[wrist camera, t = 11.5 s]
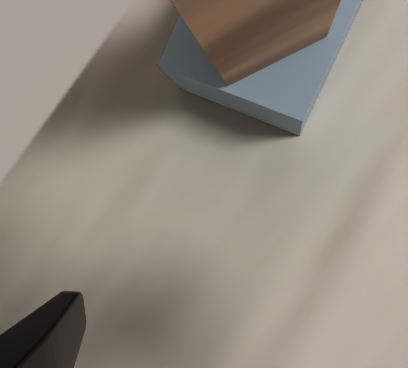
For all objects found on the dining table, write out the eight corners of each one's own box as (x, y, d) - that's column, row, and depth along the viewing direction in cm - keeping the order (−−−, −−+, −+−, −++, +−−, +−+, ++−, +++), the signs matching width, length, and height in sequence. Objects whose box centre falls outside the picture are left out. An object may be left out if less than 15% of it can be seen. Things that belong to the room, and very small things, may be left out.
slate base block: (359, 8, 19) (378, -43, 15) (299, 137, 19) (302, 121, 15) (233, -28, 21) (220, -81, 17) (181, 90, 21) (157, 65, 17)
